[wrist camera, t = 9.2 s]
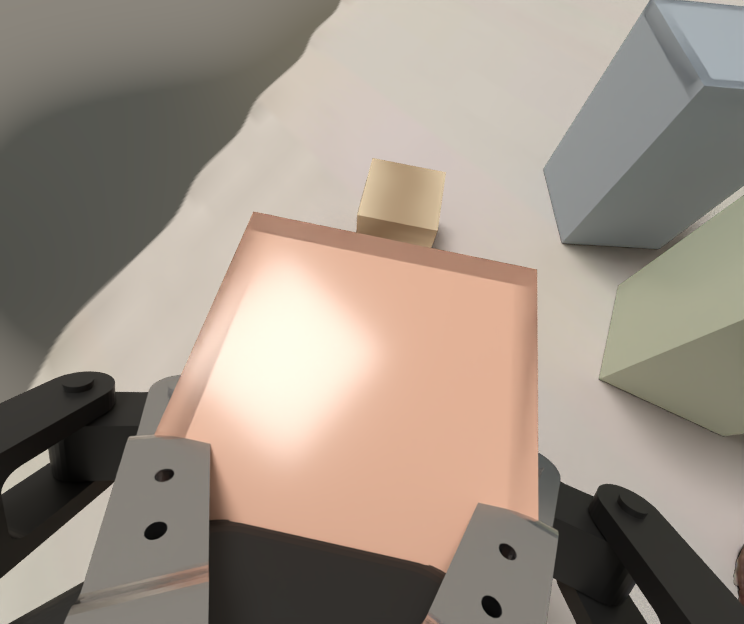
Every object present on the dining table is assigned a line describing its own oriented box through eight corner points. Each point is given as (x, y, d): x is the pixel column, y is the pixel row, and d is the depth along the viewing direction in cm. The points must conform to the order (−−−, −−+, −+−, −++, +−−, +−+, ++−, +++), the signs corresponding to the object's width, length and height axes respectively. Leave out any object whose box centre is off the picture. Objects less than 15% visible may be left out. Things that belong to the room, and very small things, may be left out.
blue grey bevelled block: (630, 175, 26) (782, 10, 17) (658, 249, 23) (859, 99, 14) (543, 168, 26) (651, -3, 17) (561, 243, 23) (704, 85, 14)
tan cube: (430, 219, 23) (446, 170, 19) (421, 273, 21) (437, 230, 18) (366, 207, 23) (370, 156, 20) (353, 260, 21) (354, 214, 18)
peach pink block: (434, 384, 17) (537, 269, 8) (415, 542, 14) (538, 643, 5) (301, 355, 17) (253, 211, 8) (256, 506, 14) (105, 544, 5)
